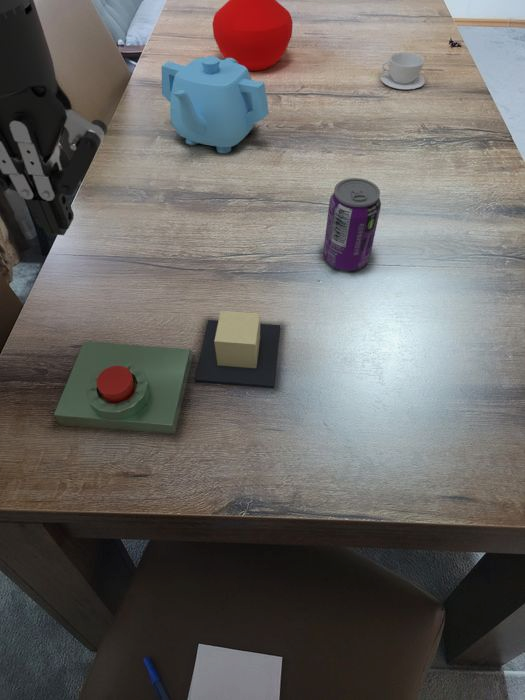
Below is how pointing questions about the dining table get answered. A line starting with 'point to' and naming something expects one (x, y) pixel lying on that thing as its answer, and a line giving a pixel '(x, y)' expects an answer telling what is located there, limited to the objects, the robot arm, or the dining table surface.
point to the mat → (240, 375)
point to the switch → (115, 383)
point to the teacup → (403, 71)
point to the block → (237, 339)
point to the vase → (253, 32)
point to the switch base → (147, 398)
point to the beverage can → (351, 223)
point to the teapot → (213, 101)
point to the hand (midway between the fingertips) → (59, 228)
